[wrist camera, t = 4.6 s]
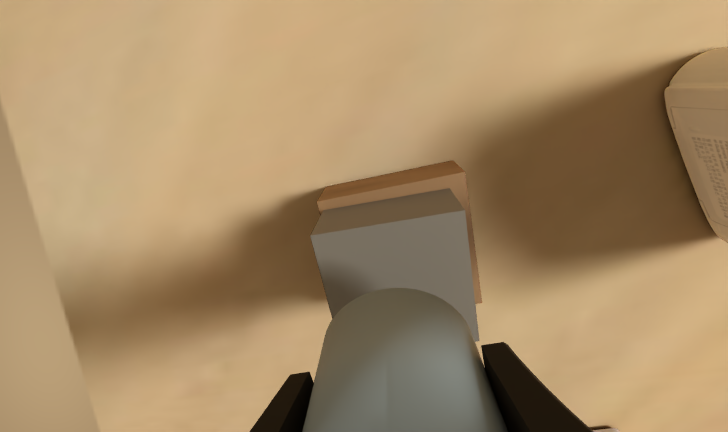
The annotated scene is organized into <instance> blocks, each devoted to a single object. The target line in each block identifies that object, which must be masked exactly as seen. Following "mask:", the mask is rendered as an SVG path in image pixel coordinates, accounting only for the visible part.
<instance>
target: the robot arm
mask: <svg viewBox="0 0 728 432" xmlns="http://www.w3.org/2000/svg"><path fill="white" fill-rule="evenodd" d="M481 347H482V353H483V360H484V366H485V371H486V373H487V376H488V379H489V381H490V384H491V387H492V389H493V392H494V395H495V398H496V400H497V403H498V406H499V408H500V411H501V414H502V416H503V419H504V422H505V425H506V427H507V430H508V432H619V430H618V429H615V428H609V429H600V430H591V429H590V428H589V427H588V426H587V425H585V424H584V423H583V422H582V421H581V420H580V419H579V418H578V417H577V416H576V415H574V414H573V413H572V412H571V411H570V410H569V409H568V408H567V407H566V406H565V405H564V404H563V403H562V402H561V401H560V400H559V399H558V398H557V397H556V396H555V395H554V394H553V393H552V392H550V391H549V390H548V389H547V388H546V387H545V386H544V385H543V384H542V382H541V381H540V380H539V379H538V378H537V377H536V376H535V375H534V374H533V373H532V372H531V371H530V370H529V369H528V368H527V367H526V366H525V364H524V363H523V362H522V361H521V360H520V359H519V358H518V357H517V355H516V354H515V353H514V352H513V351H512V349H511V348H510V347H509V346H508V345H507V344H506V343H504V342H501V343H494V344H488V345H481ZM313 385H314V383H313V380H312V377H311V375H310V372H305V373H298V374H292V375H290V376H289V377H288V379H287V380H286V381H285V383H284V384H283V386H282V387H281V388H280V390H279V391H278V393H277V394H276V395H275V397H274V398H273V400H272V401H271V403H270V404H269V405H268V407H267V408H266V410H265V411H264V412H263V414H262V415H261V417H260V418H259V419H258V421H257V422H256V424H255V425H254V426H253V428H252V429H251V430H250V432H302V431H303V427H304V423H305V418H306V414H307V410H308V406H309V402H310V397H311V393H312V389H313Z"/></svg>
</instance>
